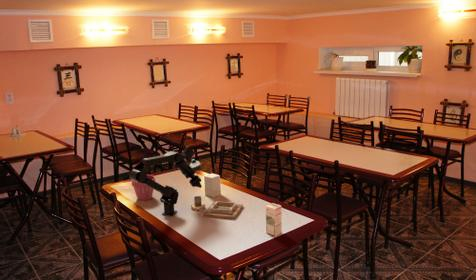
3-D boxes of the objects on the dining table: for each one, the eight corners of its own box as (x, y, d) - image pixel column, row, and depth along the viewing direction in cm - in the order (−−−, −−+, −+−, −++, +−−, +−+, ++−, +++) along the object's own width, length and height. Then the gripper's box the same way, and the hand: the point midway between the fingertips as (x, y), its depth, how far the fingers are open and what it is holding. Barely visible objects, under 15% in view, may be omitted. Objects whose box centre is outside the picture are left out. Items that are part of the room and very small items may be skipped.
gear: (202, 211, 242) (201, 200, 241) (188, 210, 245) (188, 199, 243) (207, 206, 250) (206, 195, 249) (194, 204, 252) (193, 194, 251)
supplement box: (221, 194, 269) (220, 175, 266) (212, 197, 264) (211, 178, 261) (213, 191, 274) (212, 173, 271) (204, 195, 269) (203, 175, 266)
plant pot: (140, 203, 257) (138, 183, 254) (128, 197, 267) (127, 178, 264) (160, 197, 266) (159, 178, 263) (149, 192, 276) (147, 173, 273)
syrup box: (282, 232, 213) (282, 205, 210) (274, 236, 209) (274, 208, 205) (272, 229, 217) (272, 202, 213) (265, 233, 212) (265, 205, 209)
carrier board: (234, 219, 230) (234, 213, 230) (202, 216, 235) (202, 210, 234) (243, 207, 247) (243, 201, 246) (213, 204, 252) (213, 199, 251)
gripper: (201, 166, 237) (215, 182, 247) (188, 150, 252) (202, 166, 261) (185, 179, 236) (200, 194, 246) (174, 163, 251) (188, 178, 260)
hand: (198, 183), depth 253 cm, fingers open, 9 cm apart
